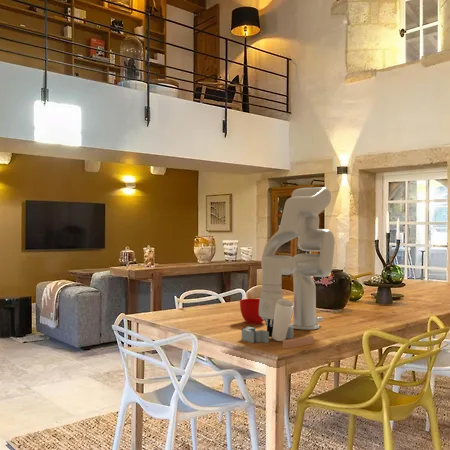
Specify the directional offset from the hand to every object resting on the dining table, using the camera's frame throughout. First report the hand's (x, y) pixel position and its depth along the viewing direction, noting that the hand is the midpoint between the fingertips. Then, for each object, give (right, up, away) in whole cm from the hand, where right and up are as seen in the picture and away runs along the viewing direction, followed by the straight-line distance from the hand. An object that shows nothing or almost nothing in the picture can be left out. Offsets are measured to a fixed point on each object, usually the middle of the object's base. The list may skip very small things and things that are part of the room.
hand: (271, 336), depth 198 cm
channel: (+1, -1, -4) cm, 4 cm away
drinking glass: (+2, 0, -3) cm, 4 cm away
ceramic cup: (-5, -1, +35) cm, 35 cm away
